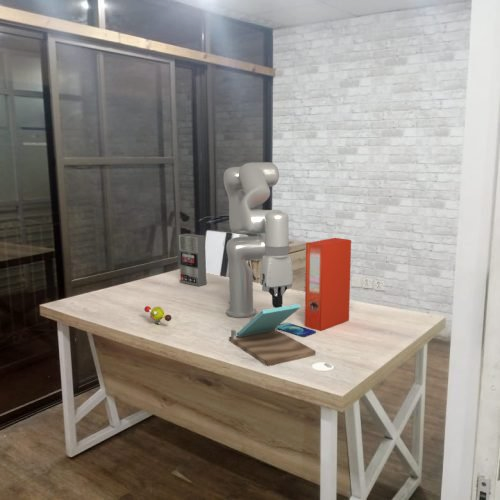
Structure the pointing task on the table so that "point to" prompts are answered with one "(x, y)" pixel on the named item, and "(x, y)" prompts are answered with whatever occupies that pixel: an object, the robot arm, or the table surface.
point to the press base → (271, 347)
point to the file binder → (327, 283)
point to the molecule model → (157, 314)
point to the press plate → (268, 320)
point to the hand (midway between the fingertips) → (277, 307)
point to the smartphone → (295, 329)
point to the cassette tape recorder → (192, 259)
